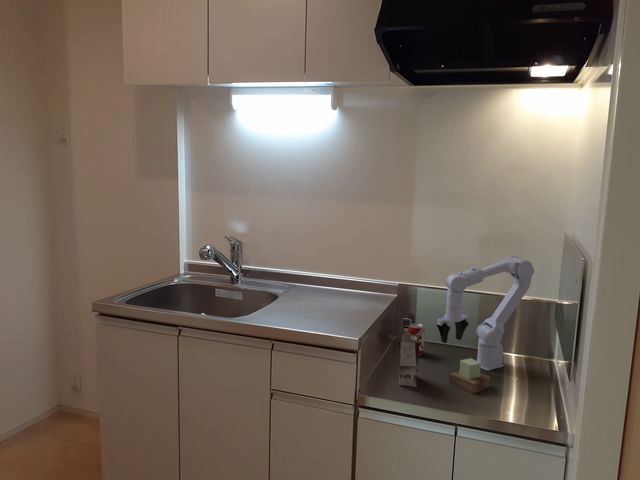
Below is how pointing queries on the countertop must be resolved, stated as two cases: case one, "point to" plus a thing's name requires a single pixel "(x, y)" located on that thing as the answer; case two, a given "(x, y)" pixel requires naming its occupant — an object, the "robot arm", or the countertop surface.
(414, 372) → the coffee box
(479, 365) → the sage cube
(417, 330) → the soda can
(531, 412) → the countertop surface
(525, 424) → the countertop surface
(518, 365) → the countertop surface
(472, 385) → the walnut base
